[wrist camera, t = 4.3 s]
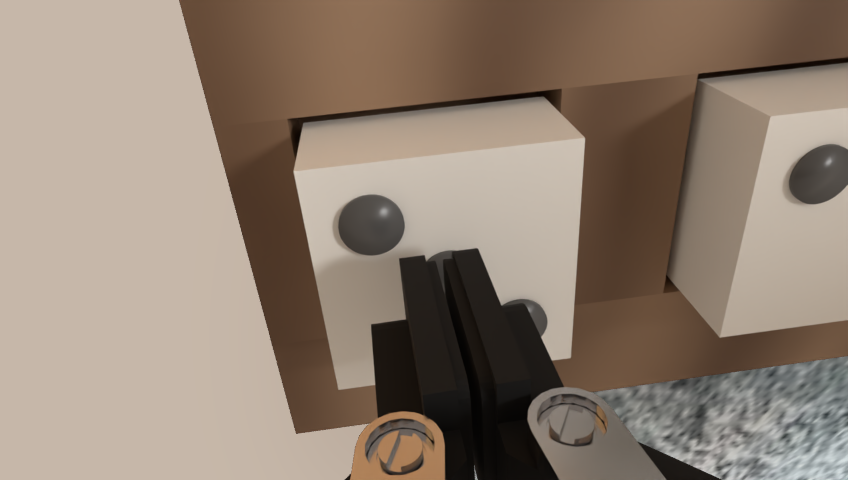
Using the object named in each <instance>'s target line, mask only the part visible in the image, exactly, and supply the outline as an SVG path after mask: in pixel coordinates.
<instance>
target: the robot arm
mask: <svg viewBox="0 0 848 480" xmlns="http://www.w3.org/2000/svg"><path fill="white" fill-rule="evenodd" d="M451 257H452V258H450V259H443V273H444V287H445V294H444V290H443V286H442V283H441V279H440V275H439V272H438V268H437V264H436V261H427V262H426V259H425V255H421V256H413V257H406V258H399V264H400V272H401V281H402V290H403V298H404V307H405V315H406V319H405V320H398V321H390V322H383V323H376V324H371V335H372V348H373V361H374V375H375V388H376V401H377V415H378V418H377V419H376V420H374V421H373V422H372V423H370V424H369V425H367V426H366V428H365V429H364V430H363V431H362V433H361V434H360V435H359V438H358V441H357V443H356V446H355V452H354V458H353V465H352V472H351V474H350V475H349V476H348V477H347V478H346V479H345V480H475V474H474V466H475V470H476V474H477V478H478V480H721V479H719V478H717V477H715V476H713V475H710V474H708V473H706V472H704V471H701V470H699V469H697V468H695V467H693V466H690V465H688V464H686V463H684V462H682V461H679V460H677V459H675V458H673V457H671V456H668V455H666V454H664V453H662V452H659V451H657V450H655V449H653V448H651V447H648V446H646V445H644V444H642V443H640V442H637V440H636V439H635V438H634V437H633V435H632V434H631V433H630V431H629V430H628V429H627V427H626V426H625V425H624V423H623V422H622V421H621V420H620V418H619V417H618V416H617V414H616V413H615V412H614V410H613V409H612V408H611V407H610V406H609V405H608V404H607V403H606V402H605V401H604V400H603V399H602V398H600V397H598V396H597V395H595V394H593V393H592V392H589V391H586V390H582V389H579V388H570V387H564V385H563V383H562V381H561V379H560V377H559V375H558V372H557V370H556V368H555V366H554V364H553V362H552V360H551V357H550V355H549V353H548V351H547V349H546V347H545V345H544V343H543V340H542V338H541V336H540V334H539V332H538V330H537V328H536V325H535V323H534V321H533V319H532V317H531V315H530V313H529V310H528V308H527V307H526V305H525V304H524V303H519V304H512V305H505V306H501V303H500V301H499V299H498V296H497V294H496V291H495V289H494V286H493V284H492V281H491V279H490V276H489V274H488V271H487V269H486V266H485V264H484V262H483V259H482V257H481V254H480V252H479V250H478V248H474V249H466V250H458V251H452V256H451Z"/></svg>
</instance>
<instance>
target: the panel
mask: <svg viewBox="0 0 848 480" xmlns="http://www.w3.org/2000/svg"><path fill="white" fill-rule="evenodd" d="M179 1H180V5H181V8H182V13H183V16H184V20H185V24H186V27H187V31H188V35H189V39H190V42H191V46H192V50H193V53H194V57H195V61H196V64H197V68H198V72H199V76H200V79H201V83H202V86H203V90H204V94H205V98H206V102H207V105H208V109H209V113H210V116H211V120H212V124H213V127H214V131H215V135H216V138H217V142H218V146H219V150H220V153H221V157H222V161H223V165H224V168H225V172H226V176H227V179H228V183H229V187H230V191H231V194H232V198H233V202H234V205H235V209H236V213H237V216H238V220H239V224H240V227H241V231H242V235H243V239H244V242H245V246H246V249H247V253H248V257H249V261H250V265H251V268H252V272H253V276H254V279H255V283H256V287H257V290H258V294H259V298H260V301H261V305H262V309H263V312H264V316H265V320H266V324H267V328H268V331H269V335H270V338H271V342H272V346H273V350H274V353H275V357H276V360H277V365H278V368H279V372H280V376H281V379H282V383H283V387H284V391H285V394H286V398H287V402H288V405H289V409H290V413H291V416H292V420H293V424H294V428H295V431H296V434H298V433H305V432H312V431H318V430H326V429H333V428H340V427H347V426H354V425H362V424H369V423H372V422H373V421H374V420H376V419H377V418H378V415H377V401H376V388H375V385H371V386H364V387H357V388H349V389H342V390H338V385H337V380H336V375H335V371H334V366H333V361H332V356H331V351H330V346H329V341H328V337H327V332H326V327H325V322H324V317H323V312H322V307H321V303H320V298H319V293H318V288H317V283H316V278H315V274H314V269H313V264H312V259H311V254H310V249H309V244H308V240H307V235H306V230H305V225H304V220H303V215H302V210H301V206H300V201H299V196H298V191H297V186H296V181H295V176H294V172H293V171H294V166H295V161H296V157H297V152H298V147H299V142H300V137H301V132H302V127H303V123H307V122H316V121H325V120H334V119H343V118H352V117H361V116H370V115H379V114H388V113H398V112H407V111H416V110H425V109H434V108H443V107H452V106H461V105H470V104H479V103H488V102H497V101H506V100H515V99H524V98H533V97H542V96H544V97H545V98H546V99H547V100H548V101H549V102H550V103H551V104H552V105H553V106H554V107H555V108H556V109H557V110H558V111H559V112H560V113H561V114H562V115H563V116H564V117H565V118H566V119H567V120H568V121H569V122H570V123H571V124H572V125H573V126H574V127H575V128H576V129H577V130H578V131H579V132H580V133H581V134H582V135H583V136H584V137H585V148H584V163H583V179H582V194H581V209H580V225H579V240H578V255H577V270H576V286H575V301H574V316H573V332H572V347H571V358H568V359H560V360H553V361H552V362H553V364H554V366H555V368H556V370H557V372H558V375H559V377H560V379H561V381H562V383H563V385H564V387H570V388H579V389H582V390H586V391H589V392H596V391H603V390H610V389H617V388H624V387H631V386H638V385H645V384H652V383H659V382H666V381H674V380H681V379H688V378H695V377H702V376H709V375H716V374H723V373H730V372H737V371H744V370H752V369H759V368H766V367H773V366H780V365H787V364H794V363H801V362H808V361H815V360H822V359H830V358H837V357H844V356H848V320H844V321H837V322H830V323H823V324H815V325H808V326H801V327H793V328H786V329H779V330H772V331H764V332H757V333H750V334H743V335H735V336H728V337H721V338H720V337H719V336H718V335H717V334H716V333H715V331H714V330H713V329H712V328H711V327H710V326H709V324H708V323H707V322H706V321H705V320H704V318H703V317H702V316H701V315H700V314H699V313H698V311H697V310H696V309H695V308H694V307H693V306H692V304H691V303H690V302H689V301H688V300H687V299H686V297H685V296H684V295H683V294H682V293H681V292H680V290H679V289H678V288H677V287H676V286H675V284H674V283H673V282H672V281H671V280H670V279H669V277H668V276H667V275H666V274H667V268H668V261H669V255H670V249H671V243H672V236H673V230H674V224H675V217H676V211H677V205H678V199H679V192H680V186H681V180H682V173H683V167H684V161H685V154H686V148H687V142H688V136H689V129H690V123H691V117H692V110H693V104H694V98H695V91H696V85H697V79H705V78H714V77H723V76H732V75H741V74H750V73H759V72H768V71H777V70H786V69H795V68H804V67H813V66H822V65H831V64H840V63H848V0H179Z"/></svg>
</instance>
